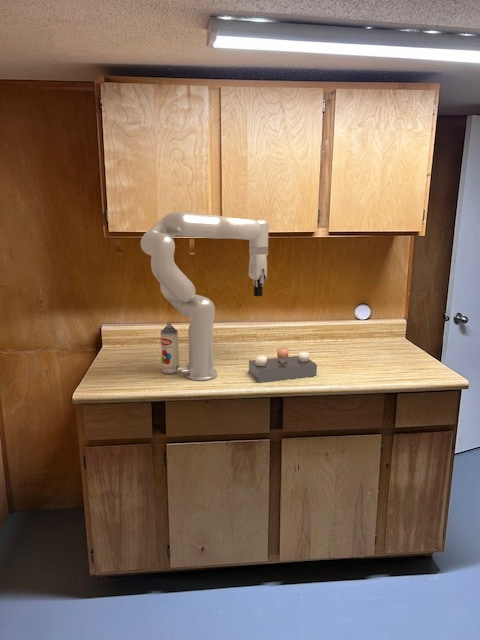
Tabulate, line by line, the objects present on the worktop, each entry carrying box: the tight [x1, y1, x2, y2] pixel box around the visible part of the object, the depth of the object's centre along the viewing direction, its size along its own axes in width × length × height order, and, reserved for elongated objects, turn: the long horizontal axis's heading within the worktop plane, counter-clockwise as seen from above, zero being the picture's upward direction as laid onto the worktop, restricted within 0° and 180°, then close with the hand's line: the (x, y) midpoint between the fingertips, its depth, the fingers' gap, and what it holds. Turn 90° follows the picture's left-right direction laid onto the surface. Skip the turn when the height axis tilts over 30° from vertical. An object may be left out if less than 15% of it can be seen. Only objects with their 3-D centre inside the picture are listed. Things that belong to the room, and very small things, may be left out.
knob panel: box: [248, 355, 318, 384], centre depth 183 cm, size 24×12×5 cm, turn 107°
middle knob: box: [276, 347, 289, 364], centre depth 182 cm, size 4×4×8 cm
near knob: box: [254, 354, 268, 366], centre depth 180 cm, size 4×4×8 cm
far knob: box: [297, 350, 310, 362], centre depth 185 cm, size 4×4×8 cm
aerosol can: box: [160, 322, 180, 375], centre depth 184 cm, size 7×7×20 cm
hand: (258, 295), depth 190 cm, fingers closed
